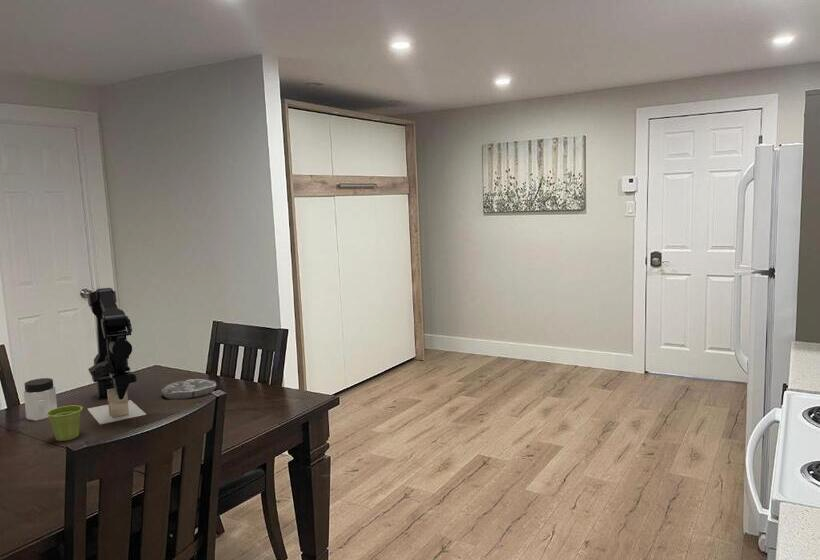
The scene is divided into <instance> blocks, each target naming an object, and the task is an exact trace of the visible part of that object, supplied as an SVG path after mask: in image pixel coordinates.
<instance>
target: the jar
mask: <svg viewBox="0 0 820 560" xmlns="http://www.w3.org/2000/svg"><path fill="white" fill-rule="evenodd" d="M23 396H24V397H23V399H24V400H23V401H24V406H25V407H24V408H25V418H26V420H29V421H35V422H36V421H43V420H45V419H47V418H48V419H49V417H48V416H47V415H46V413H47V412H48V411H50V410H53V409H55V408H58V403H57V393H56V386H54V380H53V378H49V377H45V378H44V377H43V378H35V379H31V380H28V381H26V382H25V383H24V391H23Z"/></svg>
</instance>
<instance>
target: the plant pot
mask: <svg viewBox="0 0 820 560" xmlns="http://www.w3.org/2000/svg"><path fill="white" fill-rule="evenodd" d="M82 410H83V407H82V406H81V405H65V406H59V407H57V408H55V409H53V410H50V411H48V412H47V413H46V415H47V416H48V417H49V418H48V419H49V421H50V424H51V426H52V431H53V435H54V438H55V440H56V441H59V442H62V441H70V440H73V439H76V438H78V437H79V436H80V421H81V415H82Z"/></svg>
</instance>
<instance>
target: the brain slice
mask: <svg viewBox="0 0 820 560" xmlns="http://www.w3.org/2000/svg"><path fill="white" fill-rule="evenodd" d="M216 388H217V383H216V381H215V380H210V379H209V380H208V379H204V378H203V379H201V378H200V379H199V378H192V379H189V378H188V379H186V380H181V381H180V380H179V381H178V380H177V381H173V382H171V383H168V384H166V385H164V387H163V388H161V389H160V392H159V393H161V395H162V396H163V397H165V398H166V399H168V400H174V399H176V400H186V399H192V398H198V397H203V396H206V395H210V394H211V393H210V392H211V391H213V392H214V391H215V390H216ZM209 393H210V394H209Z"/></svg>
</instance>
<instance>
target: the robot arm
mask: <svg viewBox="0 0 820 560" xmlns="http://www.w3.org/2000/svg"><path fill="white" fill-rule="evenodd" d="M116 295H117V294H116V291H115V290H113V288H111V287H102V288H101V287H100V288H97V289H95V291H93V292H91V293H89V294H88V295H87V303H88V307H90V310H91V312H92V313H93V315H94V317H95V323H96V337H97V338H96V340H97V341H96V343H97V354H96V356H95V357H94V358H93V365H92V366H91V367H89V368H88V373H89V374H90V376H91V380H92V381H93V383H97V393H95V396H96V397H97V398H98V399H99V400H101V399H108V395H107V390H108V389H113V388H115V389H116V392H117V395H118V398H119V399H120V400H121V399H123V398H124V395H125V393H126V390H127V391H128V388H129V385H130V384H131V383H136V382H137V375H136V374H135V373H134V372H132V371H131V367H130V366H129V359H130V356H131V354H132V352H133V346H132V344H131V342H130V341H128V339H127V336H132V333H133V327H132V323H131V319H130V318H129V316H127V315H126V312H125V311H124V310H123V309H120V308H119V307H118V305H117V301H118V299H117V296H116Z"/></svg>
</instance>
